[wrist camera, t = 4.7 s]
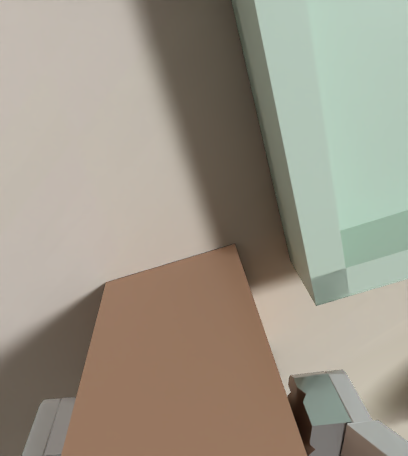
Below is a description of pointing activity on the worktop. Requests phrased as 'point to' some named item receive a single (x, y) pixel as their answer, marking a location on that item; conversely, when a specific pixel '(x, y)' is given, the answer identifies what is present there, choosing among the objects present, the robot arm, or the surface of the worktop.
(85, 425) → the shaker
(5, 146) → the worktop surface
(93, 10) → the worktop surface
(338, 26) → the tray
